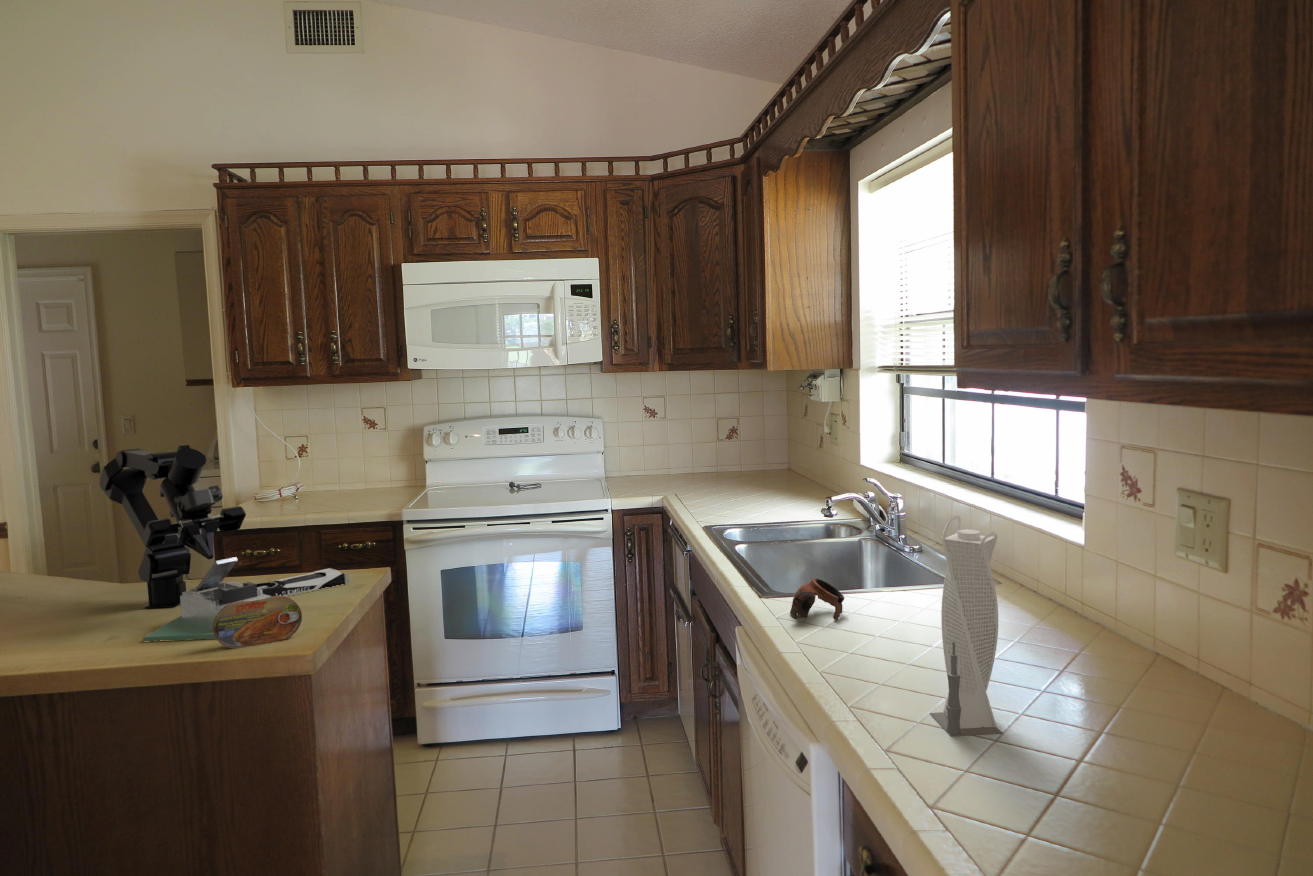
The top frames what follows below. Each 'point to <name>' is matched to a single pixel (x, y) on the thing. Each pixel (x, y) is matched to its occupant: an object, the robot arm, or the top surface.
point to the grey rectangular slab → (216, 574)
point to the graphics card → (304, 583)
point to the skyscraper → (968, 632)
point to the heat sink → (215, 601)
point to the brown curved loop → (807, 597)
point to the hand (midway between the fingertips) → (211, 557)
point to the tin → (257, 621)
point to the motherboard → (180, 631)
